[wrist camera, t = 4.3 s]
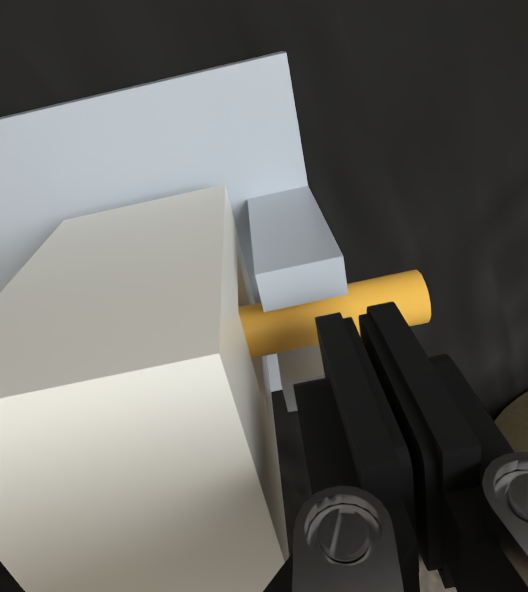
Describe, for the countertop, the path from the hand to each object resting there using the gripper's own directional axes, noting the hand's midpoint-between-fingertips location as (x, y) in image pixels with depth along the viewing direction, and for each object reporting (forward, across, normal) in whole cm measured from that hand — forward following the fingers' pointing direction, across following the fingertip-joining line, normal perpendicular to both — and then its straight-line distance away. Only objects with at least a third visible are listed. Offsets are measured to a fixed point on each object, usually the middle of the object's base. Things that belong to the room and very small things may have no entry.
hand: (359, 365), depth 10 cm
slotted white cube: (+6, +5, 0) cm, 8 cm away
